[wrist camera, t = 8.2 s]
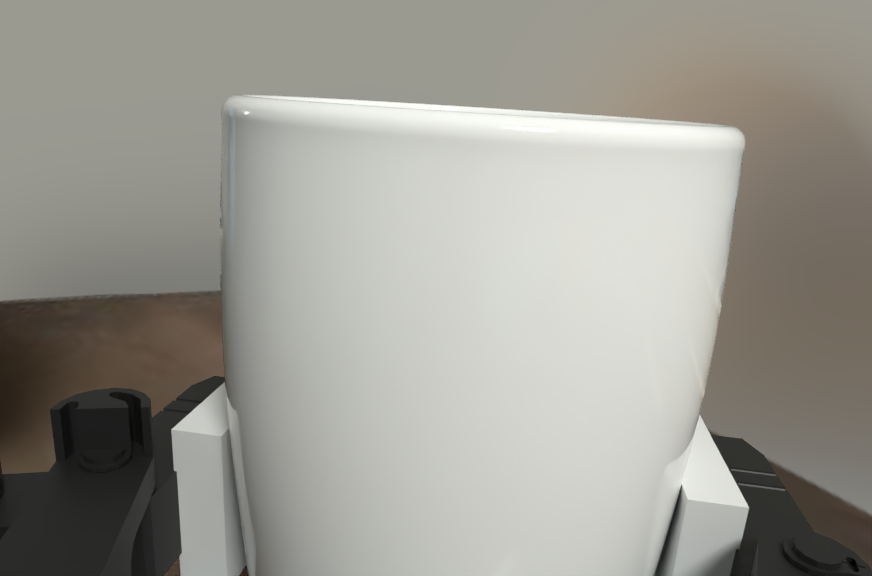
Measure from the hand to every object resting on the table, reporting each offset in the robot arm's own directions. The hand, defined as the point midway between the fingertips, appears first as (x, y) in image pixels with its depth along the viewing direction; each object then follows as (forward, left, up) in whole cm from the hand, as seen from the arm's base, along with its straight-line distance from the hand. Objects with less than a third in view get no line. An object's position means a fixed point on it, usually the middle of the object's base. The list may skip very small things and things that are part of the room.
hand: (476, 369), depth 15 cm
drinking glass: (+5, -2, -9) cm, 10 cm away
